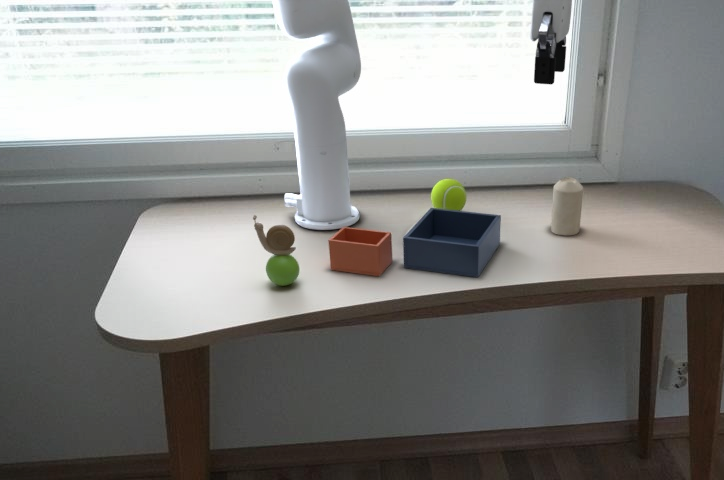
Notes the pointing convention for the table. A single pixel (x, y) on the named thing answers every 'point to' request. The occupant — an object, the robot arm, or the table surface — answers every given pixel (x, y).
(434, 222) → the big tote
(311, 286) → the table surface
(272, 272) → the snail figurine
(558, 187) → the candle
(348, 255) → the small tote
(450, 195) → the tennis ball
